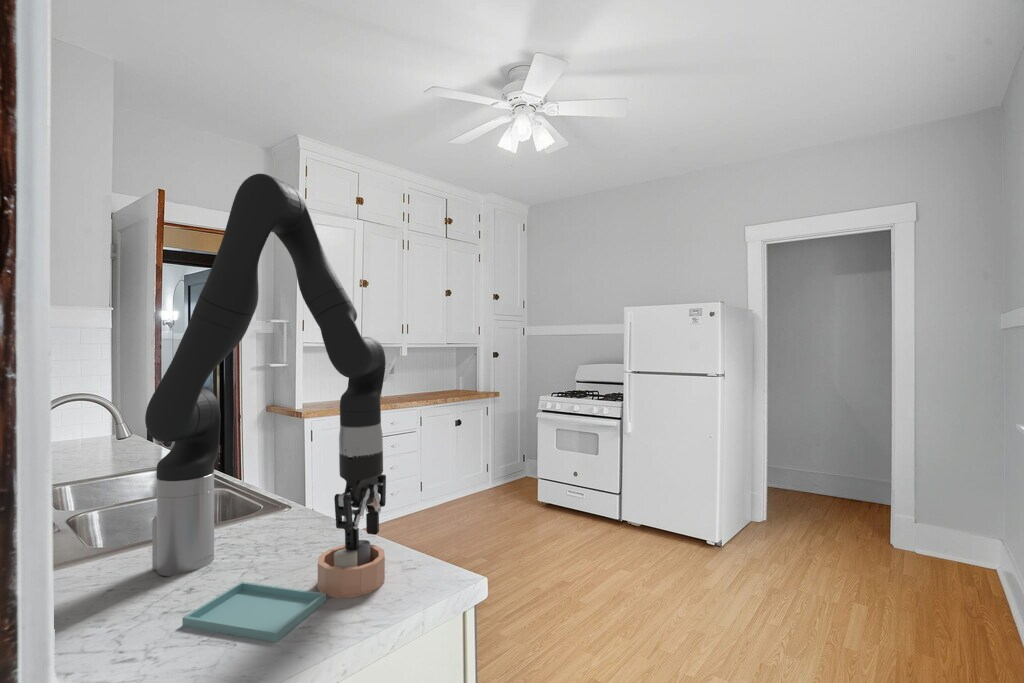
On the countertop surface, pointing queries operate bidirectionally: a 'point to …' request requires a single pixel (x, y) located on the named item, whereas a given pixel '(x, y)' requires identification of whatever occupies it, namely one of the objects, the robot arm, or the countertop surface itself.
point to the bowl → (350, 574)
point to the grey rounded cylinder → (363, 552)
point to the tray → (255, 611)
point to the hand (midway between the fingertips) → (362, 541)
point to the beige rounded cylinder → (345, 558)
